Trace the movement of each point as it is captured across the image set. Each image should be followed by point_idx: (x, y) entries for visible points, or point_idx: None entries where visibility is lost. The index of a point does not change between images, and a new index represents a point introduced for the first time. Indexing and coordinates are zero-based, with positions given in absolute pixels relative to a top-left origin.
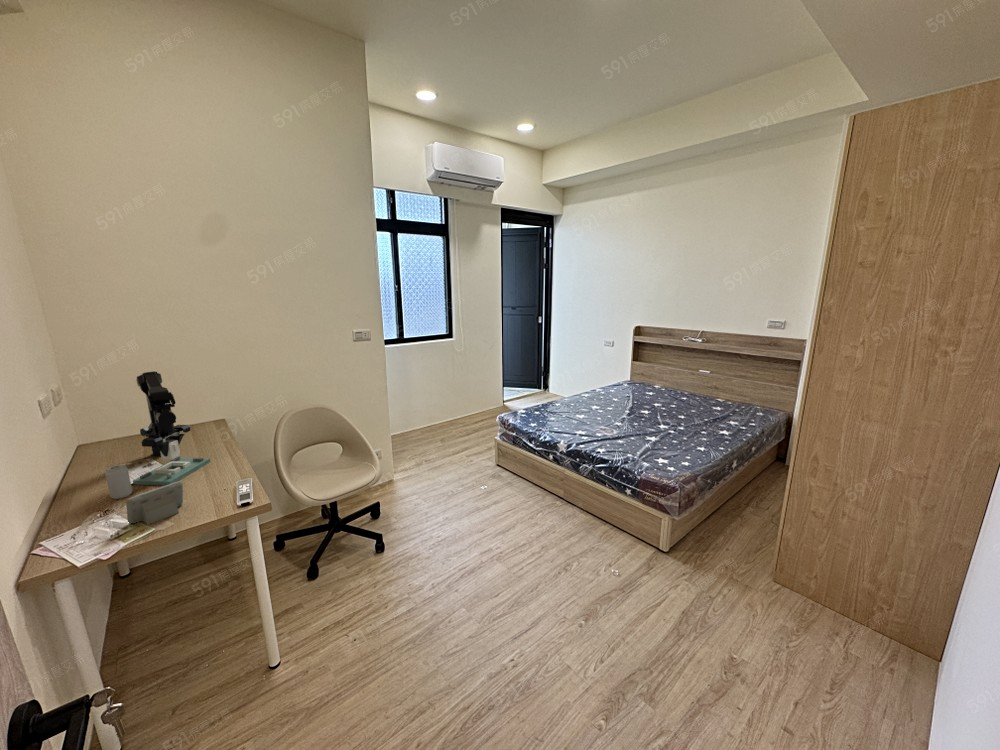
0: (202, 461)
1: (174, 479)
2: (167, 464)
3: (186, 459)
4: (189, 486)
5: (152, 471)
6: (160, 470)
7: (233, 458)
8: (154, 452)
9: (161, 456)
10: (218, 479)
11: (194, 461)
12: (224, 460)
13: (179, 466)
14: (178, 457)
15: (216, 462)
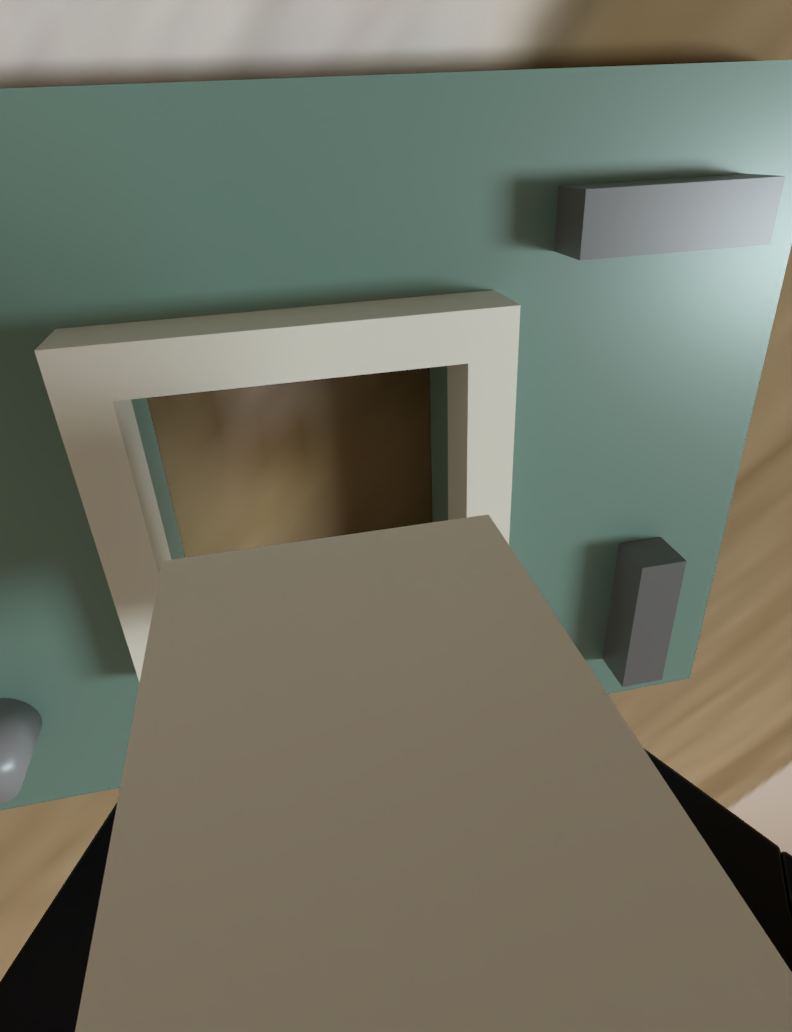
0: (601, 667)
1: (4, 807)
2: (360, 360)
3: (711, 366)
4: (17, 941)
5: (104, 148)
6: (77, 472)
7: (724, 780)
8: None
9: (151, 630)
10: None
11: (610, 565)
12: (683, 745)
13: (443, 469)
14: (749, 235)
15: (636, 714)
